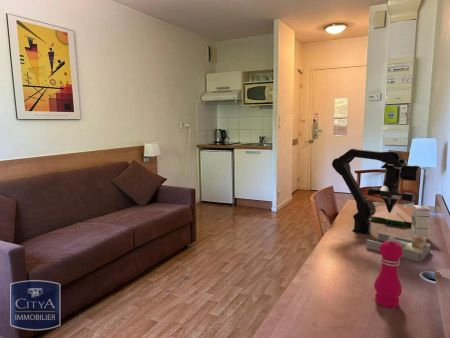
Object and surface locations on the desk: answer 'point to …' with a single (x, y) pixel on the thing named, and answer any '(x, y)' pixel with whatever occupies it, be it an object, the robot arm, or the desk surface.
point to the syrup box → (420, 221)
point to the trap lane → (405, 243)
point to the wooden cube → (419, 242)
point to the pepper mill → (389, 274)
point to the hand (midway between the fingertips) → (389, 212)
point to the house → (394, 214)
